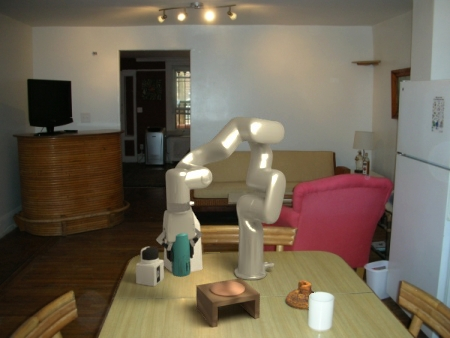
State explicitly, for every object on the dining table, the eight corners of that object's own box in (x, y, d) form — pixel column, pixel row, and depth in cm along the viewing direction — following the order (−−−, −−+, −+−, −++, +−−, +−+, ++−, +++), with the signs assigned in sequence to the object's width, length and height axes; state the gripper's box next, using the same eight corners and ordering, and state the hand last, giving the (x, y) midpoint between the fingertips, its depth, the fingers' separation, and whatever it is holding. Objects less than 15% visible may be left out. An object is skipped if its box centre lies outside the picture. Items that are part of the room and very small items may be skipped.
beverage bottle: (188, 282, 156) (186, 223, 153) (168, 280, 158) (166, 222, 154) (193, 274, 163) (191, 217, 159) (174, 272, 164) (172, 216, 160)
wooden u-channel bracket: (240, 300, 163) (240, 276, 162) (259, 317, 151) (260, 292, 149) (196, 308, 157) (196, 283, 156) (212, 327, 144) (212, 300, 143)
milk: (175, 275, 186) (174, 209, 182) (163, 265, 195) (162, 203, 191) (202, 269, 192) (202, 206, 187) (190, 260, 201) (189, 200, 197)
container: (164, 279, 181) (163, 246, 179) (154, 286, 174) (154, 252, 172) (146, 276, 184) (145, 244, 182) (135, 284, 177) (135, 250, 175)
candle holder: (320, 312, 155) (321, 291, 154) (283, 308, 158) (284, 287, 157) (322, 298, 166) (323, 278, 165) (288, 294, 169) (289, 274, 168)
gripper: (199, 200, 162) (200, 251, 166) (149, 207, 156) (152, 259, 159) (207, 206, 156) (208, 258, 159) (155, 212, 149) (158, 267, 152)
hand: (180, 258), depth 159 cm, fingers closed on beverage bottle, 6 cm apart
